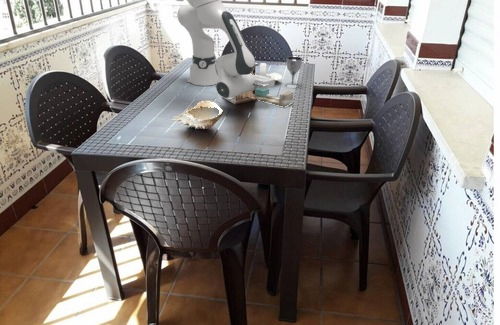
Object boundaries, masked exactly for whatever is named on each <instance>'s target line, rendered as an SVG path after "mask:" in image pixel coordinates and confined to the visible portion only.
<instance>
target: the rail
mask: <svg viewBox="0 0 500 325" xmlns="http://www.w3.org/2000/svg"><path fill="white" fill-rule="evenodd" d="M256 88H258V87H255V89H256ZM294 94H295V93H294V91H291V90H287V91H283V92H281V93H279V96H278V97H277V96H274V95H271V94H267V95H265V96H260V95H257V94H255V98H257V100H260V101H259V102H261V101H264V102H268V103H272V104H275V105H279V106H283V107H285V106H287V105H289V104H290V103H292V102H293V103H294ZM257 100H256V101H257ZM264 102H263V103H264ZM268 103H267V104H268ZM275 105H274V106H275Z"/></svg>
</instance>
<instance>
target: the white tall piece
mask: <svg viewBox="0 0 500 325" xmlns="http://www.w3.org/2000/svg"><path fill="white" fill-rule="evenodd" d="M259 75H262V76H267V63H265V62H260V63H259ZM255 94H257V95H260V96H265V95H270V88H267V89H262V88H256V89H255Z"/></svg>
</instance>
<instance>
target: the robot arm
mask: <svg viewBox="0 0 500 325" xmlns="http://www.w3.org/2000/svg"><path fill="white" fill-rule="evenodd" d="M187 3H188V4H183V5H181V6H180V7H179V8H178V9H177V16H176V17H177V20H178V22H179V24H180V25H181V26H182V27H184V28H185V30H186V31H187V32H188V34H189V37H190V39H191V44H192V58H191V59H192V64H191V65H190V66H189V78H187V79H186V82H187V83H191V84H192V85H195V86H203V87H204V86H205V87H206V86H214V85H215V88H216V91H217V92H216V93H218V95H219V96H221V97H222V98H226V99H229V98H235V97H237V96H240V95H241V94H245V93H246V94H247V92H249V91H252V90H253V89H254V87H258V88H262V89H267V88H268V89H270V88H274V87H275V83H276V80H275V78H274V77H272V76H271V75H266V76H262V75H260V72H259V73H258V72H254V73H255V75H252V74H251V73H253V71H254V69H255V68H256V58H255V56H254V54H253V52H252V51H251V50H250V48H249V46H248V44H247V41H246V39H245V37H244V35H243V33H242V31H241V29H240V27H239V24H238V22H237V21H236V19H235V17H234V15H233V14H232V13H231V12H229V11H228V10H227V9H226V7H225V5H224V4H223V2H222V0H187ZM204 29H215V30H216V29H219V30H222V31H223V32H224V33H225V34H226V35H227V37H228V40H229V42H230V44H231V46H232V48H233V50H234V52H231V53H228V54H223V55H221V56H219V57H217V59H216V55H215V41H214V39H213V38H212V37H211V36H210V35H209V34H207V33H206V32H205V31H204Z"/></svg>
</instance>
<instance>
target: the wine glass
mask: <svg viewBox="0 0 500 325" xmlns="http://www.w3.org/2000/svg"><path fill="white" fill-rule="evenodd" d="M302 62H303V58H302V57H300V56H293V55H291V56H286V68H287V70H288V72H289V73H290V76H291V83H290V84H291V85H295V84H294V80H295V76H296V75H297V73H298V72H299V71H300V69H301V67H302V64H303V63H302Z"/></svg>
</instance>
